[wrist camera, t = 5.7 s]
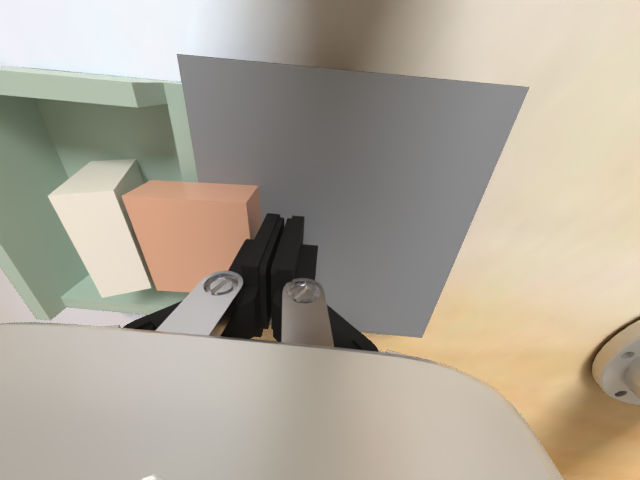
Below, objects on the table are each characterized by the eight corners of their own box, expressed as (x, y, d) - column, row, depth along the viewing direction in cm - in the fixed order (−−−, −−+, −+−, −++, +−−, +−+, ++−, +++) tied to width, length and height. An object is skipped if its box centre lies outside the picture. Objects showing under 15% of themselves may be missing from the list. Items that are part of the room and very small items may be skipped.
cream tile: (113, 190, 10) (47, 195, 9) (151, 287, 13) (102, 298, 12) (136, 158, 14) (90, 161, 13) (162, 238, 17) (125, 243, 16)
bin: (202, 84, 13) (135, 84, 8) (228, 276, 19) (196, 333, 15) (17, 66, 13) (-145, 58, 8) (103, 265, 19) (36, 319, 15)
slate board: (487, 86, 12) (529, 87, 10) (410, 304, 19) (421, 337, 17) (210, 60, 12) (176, 53, 10) (236, 288, 19) (221, 319, 17)
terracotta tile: (258, 185, 12) (246, 202, 10) (265, 271, 15) (256, 296, 13) (151, 180, 12) (121, 195, 10) (177, 266, 15) (157, 290, 13)
